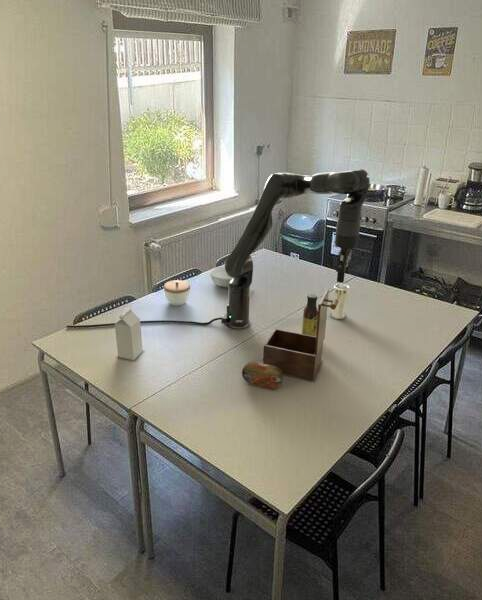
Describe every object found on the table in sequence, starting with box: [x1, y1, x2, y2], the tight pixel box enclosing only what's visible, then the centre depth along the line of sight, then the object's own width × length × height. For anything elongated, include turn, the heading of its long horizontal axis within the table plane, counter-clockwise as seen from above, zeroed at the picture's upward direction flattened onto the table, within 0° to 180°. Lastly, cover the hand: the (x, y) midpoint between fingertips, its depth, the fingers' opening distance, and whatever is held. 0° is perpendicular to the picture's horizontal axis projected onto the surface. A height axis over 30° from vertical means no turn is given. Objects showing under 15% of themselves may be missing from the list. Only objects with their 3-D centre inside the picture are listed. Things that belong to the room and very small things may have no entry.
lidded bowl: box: [163, 279, 191, 307], centre depth 235 cm, size 13×13×11 cm
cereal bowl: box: [210, 265, 233, 288], centre depth 256 cm, size 17×17×7 cm
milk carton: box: [114, 308, 143, 361], centre depth 191 cm, size 7×7×19 cm
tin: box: [241, 361, 284, 390], centre depth 177 cm, size 15×3×8 cm, turn 70°
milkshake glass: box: [331, 283, 350, 320], centre depth 224 cm, size 7×7×15 cm
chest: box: [262, 328, 324, 382], centre depth 187 cm, size 20×14×11 cm
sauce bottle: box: [301, 293, 318, 336], centre depth 204 cm, size 7×6×20 cm
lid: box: [315, 288, 338, 356], centre depth 176 cm, size 20×14×5 cm
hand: (342, 277), depth 167 cm, fingers open, 8 cm apart
